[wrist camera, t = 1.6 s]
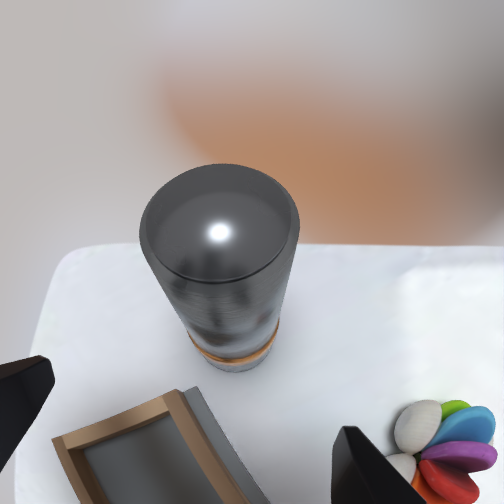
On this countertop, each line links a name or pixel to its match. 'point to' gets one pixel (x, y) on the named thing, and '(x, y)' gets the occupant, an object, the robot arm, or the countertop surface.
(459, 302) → the countertop surface
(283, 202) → the grey metal cylinder
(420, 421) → the multicolored petal flower
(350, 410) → the countertop surface
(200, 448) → the picture frame
